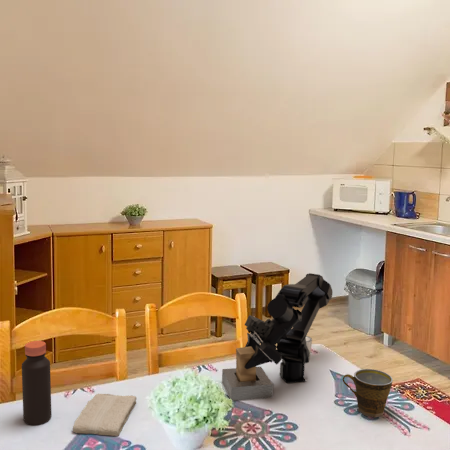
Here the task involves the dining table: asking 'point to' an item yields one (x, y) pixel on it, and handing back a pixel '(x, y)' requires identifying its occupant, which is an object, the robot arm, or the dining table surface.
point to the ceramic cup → (371, 390)
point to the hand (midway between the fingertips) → (242, 363)
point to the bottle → (36, 384)
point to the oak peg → (241, 360)
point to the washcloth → (105, 415)
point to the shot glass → (308, 343)
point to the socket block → (247, 385)
